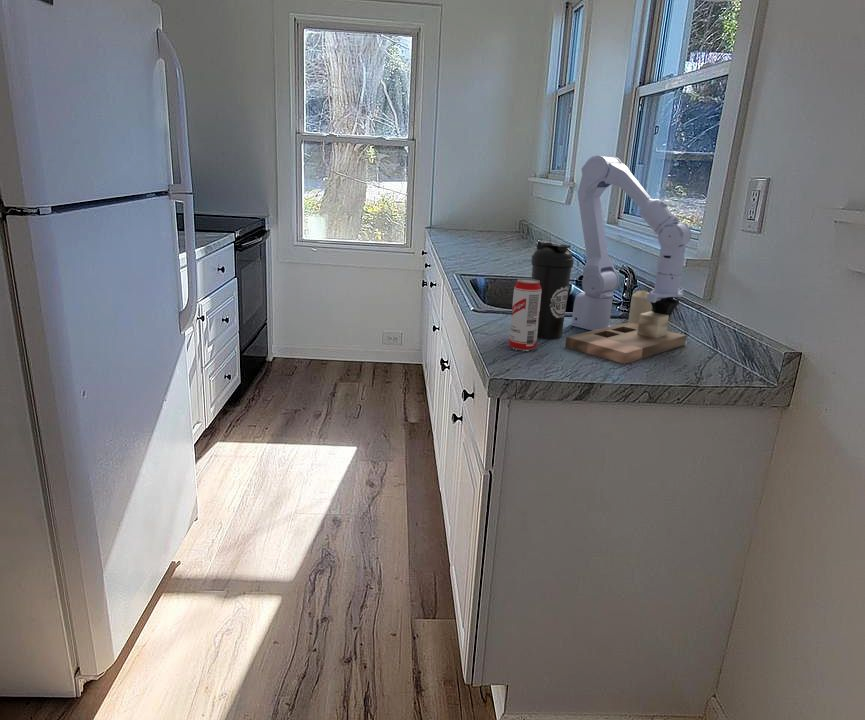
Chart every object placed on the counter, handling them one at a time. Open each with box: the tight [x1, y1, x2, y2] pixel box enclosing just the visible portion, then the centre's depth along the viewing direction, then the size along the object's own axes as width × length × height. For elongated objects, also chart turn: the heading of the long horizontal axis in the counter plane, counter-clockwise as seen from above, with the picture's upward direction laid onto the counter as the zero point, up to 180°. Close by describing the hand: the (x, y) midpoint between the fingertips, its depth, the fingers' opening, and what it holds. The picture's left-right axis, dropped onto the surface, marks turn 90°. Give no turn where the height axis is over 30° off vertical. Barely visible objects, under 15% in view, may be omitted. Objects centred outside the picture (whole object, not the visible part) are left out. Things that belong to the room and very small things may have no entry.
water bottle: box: [530, 241, 575, 340], centre depth 162 cm, size 10×10×23 cm
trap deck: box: [565, 321, 687, 365], centre depth 158 cm, size 16×28×2 cm, turn 133°
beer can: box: [508, 278, 542, 351], centre depth 149 cm, size 6×6×16 cm
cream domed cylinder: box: [627, 289, 653, 324], centre depth 177 cm, size 6×6×10 cm
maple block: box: [637, 310, 670, 338], centre depth 160 cm, size 5×5×5 cm
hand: (660, 327), depth 163 cm, fingers closed
